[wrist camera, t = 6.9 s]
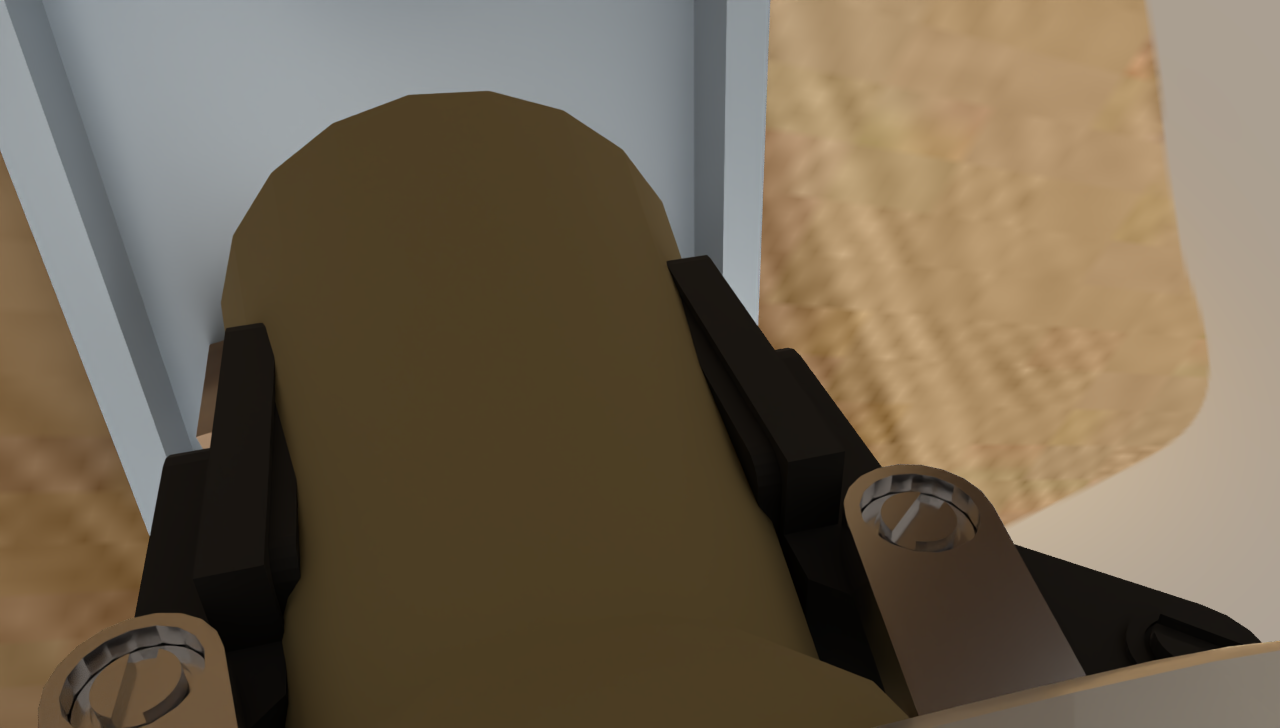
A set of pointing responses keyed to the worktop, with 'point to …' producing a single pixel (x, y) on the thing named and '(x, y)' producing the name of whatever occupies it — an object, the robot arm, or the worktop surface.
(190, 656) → the robot arm
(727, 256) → the tray
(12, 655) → the worktop surface
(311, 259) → the cork
